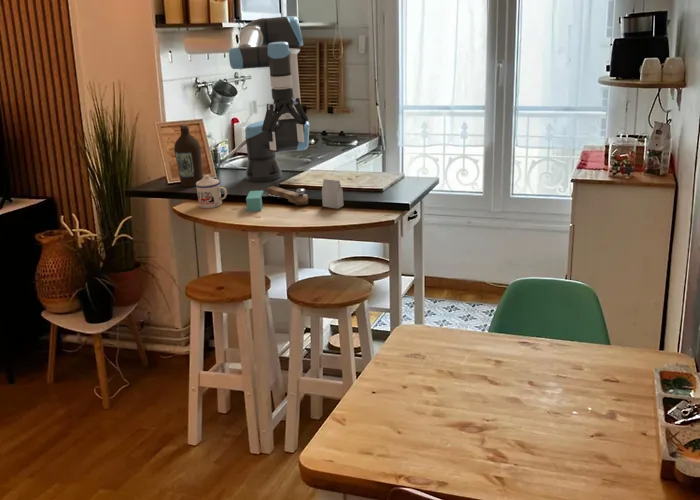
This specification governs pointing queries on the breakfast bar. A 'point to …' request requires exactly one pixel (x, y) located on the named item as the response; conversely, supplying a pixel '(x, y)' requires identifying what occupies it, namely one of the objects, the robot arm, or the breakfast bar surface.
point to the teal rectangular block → (254, 201)
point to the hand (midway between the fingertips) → (287, 145)
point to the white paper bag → (332, 194)
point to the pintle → (300, 191)
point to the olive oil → (188, 158)
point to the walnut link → (288, 195)
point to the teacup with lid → (209, 192)
